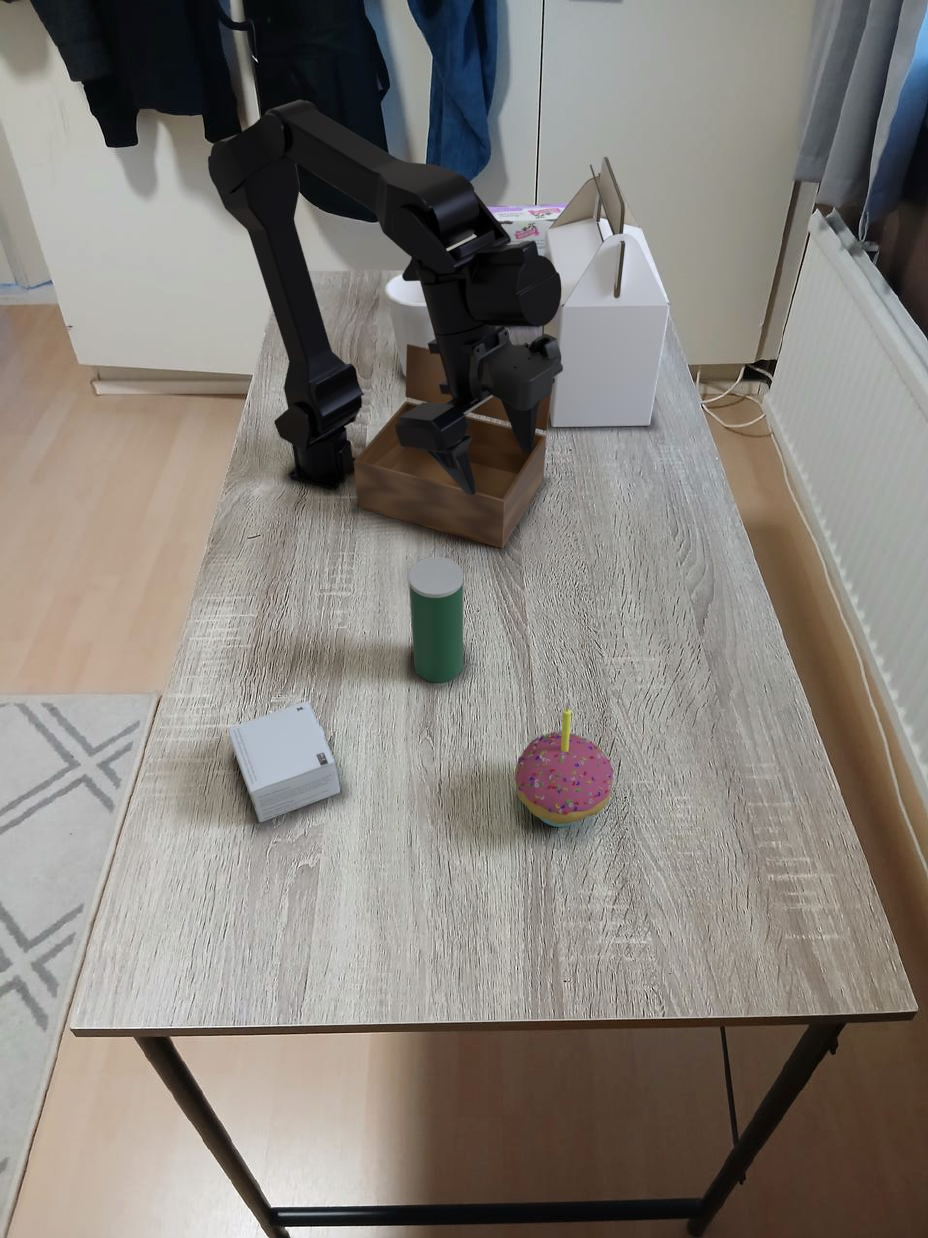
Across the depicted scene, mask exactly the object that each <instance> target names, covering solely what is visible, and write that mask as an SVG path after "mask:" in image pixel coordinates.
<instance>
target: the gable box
mask: <svg viewBox="0 0 928 1238" xmlns="http://www.w3.org/2000/svg"><path fill="white" fill-rule="evenodd" d="M589 167H590V171H591V174H592V177H591V178H589V179H588V180H587V181H585V182H584V184H583V185H582V186H581V187H580V189H579V190H578V191H577V192H576V193H575V195H574V196H573V197H572V199H571V200H570V201H569V202H568V203H567V204H568V205H567V207H566V208H565V209H564V210H563V212H562V213H561V214H560V215H559V217H558V218H557V219H556V220H555V222H554V223H553V224H552V225H551V227H550V228H549V229H547V230H546V235H545V250H544V257H546V258H547V259H549V260H550V261H551V263H552V264H553V265H554V267H555V269H556V271H557V272H558V273H559V275H560V279H561V288H562V290H561V300H560V305H559V308H558V311H557V313H556V315H555V316H554V318H553V319H552V320H551V321H550V322H549V323H548V324H547V325H544V326H540V327H539V333H538V338H539V337H540V336H542V335H543V334H548V335H550V336H553V337H555V338H556V339H557V342H558V346H559V349H560V352H561V364H562V366H563V370H562V372H560V373H559V374H557V375H556V376H554V378H555V382H554V384H553V388H552V396H551V403H550V411H549V418H550V425H551V427H552V428H592V427H596V428H598V427H648V426H650V425H651V419H652V414H653V408H654V402H655V397H656V391H657V385H658V379H659V374H660V373H659V372H660V368H661V361H662V356H663V351H664V344H665V338H666V332H667V331H666V330H667V325H668V321H669V320H668V319H669V314H670V308H671V303H670V301H669V298H668V295H667V293H666V290H665V287H664V285H663V282H662V280H661V276H660V274H659V271H658V269H657V266H656V264H655V261H654V258H653V255H652V252H651V249H650V248H649V245H648V242H647V239H646V236H645V234H644V232H643V228H641V227H640V225H639V224H638V222H637V220H636V217H635V215H634V214H633V211H632V209H631V208H630V206H629V203H628V202H627V199H626V197H625V196H624V193H623V191H622V190H621V187H620V185H619V183H618V182H617V178H616V177H615V174H614V171H613V168H612V166H611V162H610V160H609V157H608V156H603V157H602V160H601V168H600V172H597V175H596V173H595V170H594V168H593V165H592V164H589Z"/></svg>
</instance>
